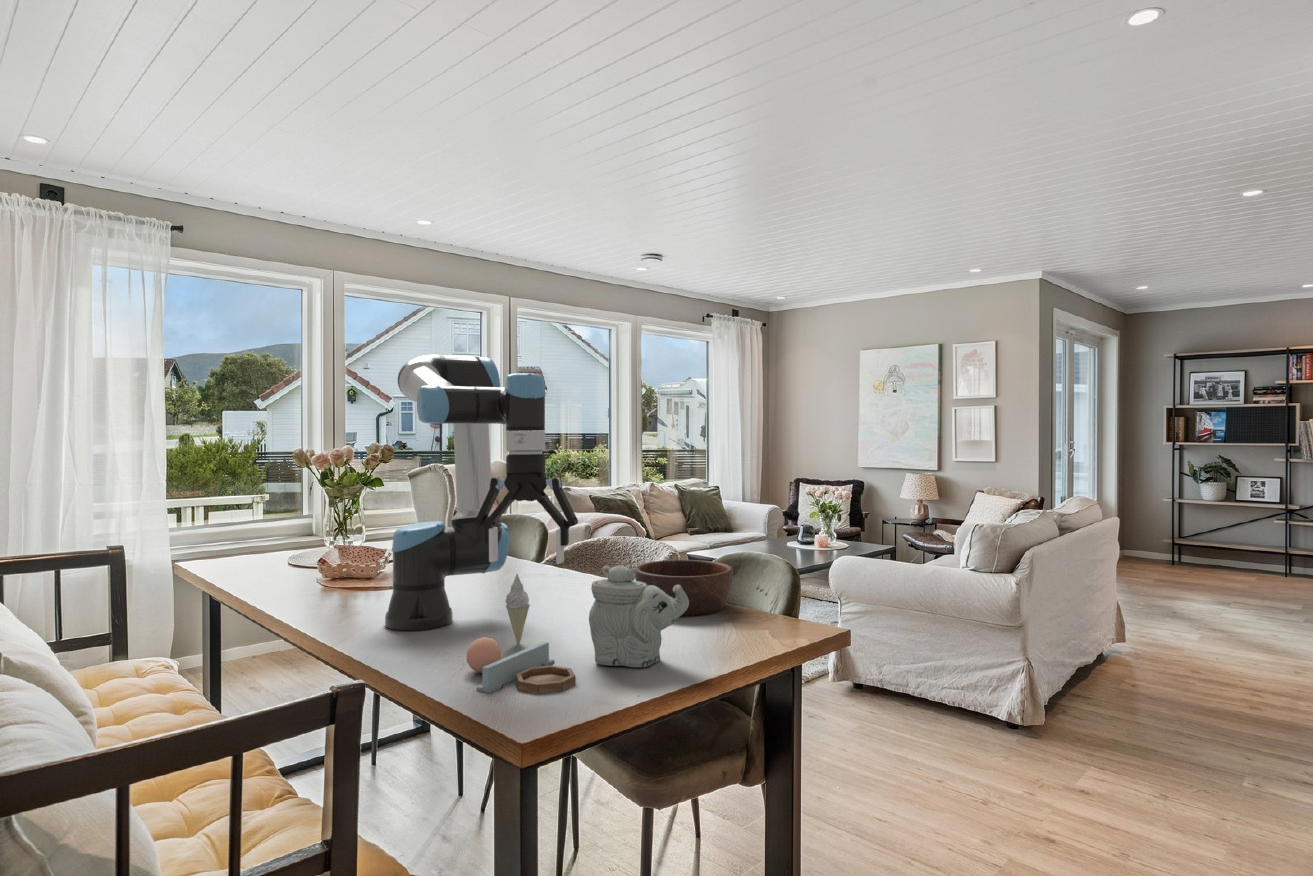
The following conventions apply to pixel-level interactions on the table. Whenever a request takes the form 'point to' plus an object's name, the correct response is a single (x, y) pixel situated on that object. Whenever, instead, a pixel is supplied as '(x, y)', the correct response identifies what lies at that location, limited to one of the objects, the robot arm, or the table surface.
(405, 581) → the robot arm
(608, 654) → the teapot
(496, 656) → the ball
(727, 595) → the wooden bowl
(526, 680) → the cork ring
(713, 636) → the table surface
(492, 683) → the low wall
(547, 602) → the table surface
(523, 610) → the ice cream cone
